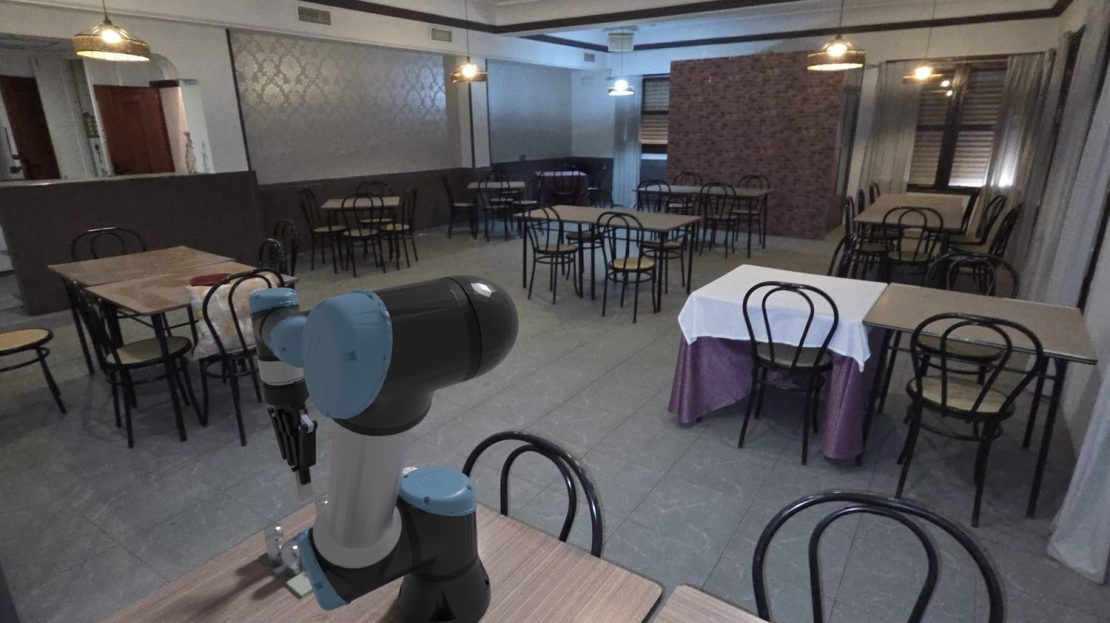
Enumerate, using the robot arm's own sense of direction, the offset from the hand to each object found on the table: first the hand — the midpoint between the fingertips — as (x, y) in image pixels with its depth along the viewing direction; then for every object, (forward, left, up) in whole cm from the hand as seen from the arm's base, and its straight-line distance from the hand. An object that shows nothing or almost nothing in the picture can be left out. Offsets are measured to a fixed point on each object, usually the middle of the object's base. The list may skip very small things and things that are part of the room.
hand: (304, 497), depth 107 cm
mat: (-3, 0, -11) cm, 11 cm away
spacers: (0, 0, -10) cm, 10 cm away
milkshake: (-6, -20, -11) cm, 23 cm away
